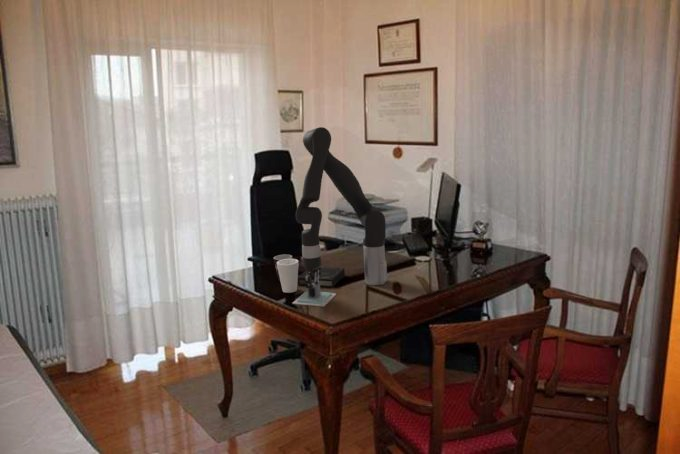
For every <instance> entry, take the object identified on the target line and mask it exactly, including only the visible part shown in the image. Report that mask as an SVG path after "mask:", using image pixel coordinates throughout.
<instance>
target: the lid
mask: <svg viewBox="0 0 680 454" xmlns="http://www.w3.org/2000/svg"><path fill="white" fill-rule="evenodd" d="M314 289H315V296H314V297H310V296H309V288H307V290H306V291H307V292H306V291H305V292H306V293H305V294H303V293H302V294H303V295H302V294H301V295H302V296H301V295H300V296H301V297H300V296H299V297H300V298H299V297H298V298H299V299H298V300H297V302H304V303H316V304H323V303H324V302H325V301H326V300H327V299H328V298H329V297H330V296H331V295H332V293H333V292H327V291H321V287H320V284H317V283H315V285H314Z"/></svg>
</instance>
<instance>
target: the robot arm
mask: <svg viewBox="0 0 680 454" xmlns="http://www.w3.org/2000/svg"><path fill="white" fill-rule="evenodd" d="M302 142H303V146H304V148H305V149H306V151H307V152H308V153H309V154H310V155H311V156H312V157H311V161H310V164H309V167H308V169H307V171H306V174H305V176H304V182H303V188H302V195H301V198H300V200H299V203H298V205H297V208H296V211H295V220H296V222H297V223H298V224H299V225H300V224H301V225H310V228H307V229H304V230H302V232H301V255H302V266H303V268H305V269H306V270H307V275H306V276H304V281H305V285H306V286H305V288H306V289H308V288H309V296H310V297H314V296H315V289H314V285H315V283H317V284H319V281H321V269H322V268H321V267H322V254H321V253H322V252H321V251H322V250H321V243H320V230H321V224H322V218H323V213H322V211H321V209H320V208H319V207H316V206H310V205H311V204H312V203H316V202H319V200H320V197H321V190H322V189H321V188H322V180H323V174H324V172H325V174H326V175H327V176H328V178H329V179H330V180H331V182H332V183H333V185H334V187H335V188H336V189H337V191H338V192H339V193H340V195H341V196H342V197H343V198H344V199H345V200H346V202H347V203H348V204H349V205H350V206H351V208H352V209H353V211H354V212H355V214H356V216H357V217H358V220H359V222H360V223H361V225H362V226H363V227H364V233H365V235H364V238H363V241H362V243H363V244H362V246H363V247H362V248H363V265H364V266H363V267H364V283H365V284H366V285H368V286H380V285H381V286H382V285H385V284H386V282H387V281H388V268H387V264H388V263H387V260H386V258H385V257H386V256H385V255H386V253H385V252H386V251H385V240H386V237H387V236H386V233H387V232H386V230H387V229H386V227H387V226H386V224H387V223H386V217H385V214H384V213H383V212H382V211H380V210H379V209H377V208H375V207H374V205H372V203H371V202H370V201H369V199H367V197H366V195H365V194H364V191H363V189H362V185H361V184H360V182H359V180H358V178H357V177H356V176H355V173H354V172H353V171H352V170H351V169H350V168H349V166H347V164H345V163H344V162H343V161H341V160H339V159H338V158H336V157H335V156H334V154H332V153H331V151H330V147H331V144H332V143H331V142H332V135H331V132H330V131H329V130H328V129H327V128H326V127H321V126H320V127H316V128H313V129H311V130H308V131H306V132H304V134H303V136H302Z"/></svg>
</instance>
